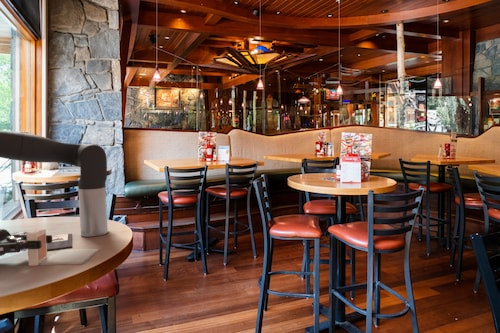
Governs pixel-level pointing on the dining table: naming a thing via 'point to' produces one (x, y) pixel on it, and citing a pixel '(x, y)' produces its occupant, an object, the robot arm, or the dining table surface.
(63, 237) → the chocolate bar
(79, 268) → the dining table surface
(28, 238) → the deck box
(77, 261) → the mat
